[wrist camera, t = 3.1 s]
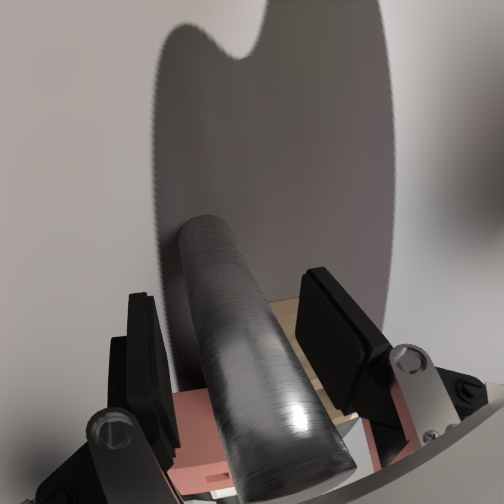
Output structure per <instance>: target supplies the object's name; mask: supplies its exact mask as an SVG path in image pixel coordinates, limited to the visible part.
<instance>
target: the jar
mask: <svg viewBox="0 0 504 504" xmlns="http://www.w3.org/2000/svg"><path fill="white" fill-rule="evenodd" d="M183 502H184V503H185V504H216V502H215V501H205V500H195V499H192V500H187V501H183Z"/></svg>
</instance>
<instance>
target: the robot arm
mask: <svg viewBox="0 0 504 504" xmlns="http://www.w3.org/2000/svg"><path fill="white" fill-rule="evenodd" d="M295 337H296V340H297V342H298V344H299V346H300V348H301V349H302V351H303V353H304V355H305V356H306V358H307V360H308V362H309V363H310V365H311V367H312V369H313V371H314V372H315V374H316V376H317V378H318V379H319V381H320V383H321V385H322V386H323V388H324V390H325V392H326V393H327V395H328V397H329V399H330V400H331V402H332V404H333V406H334V407H335V409H336V410H341V412H342V413H343V415H344V417H345V416H348V415H350V414H353V413H357V414H358V416H359V417H361V418H362V423H363V427H364V431H365V434H366V439H367V443H368V447H369V451H370V455H371V459H372V464H373V468H374V472H375V473H373V474H371V475H369V476H367V477H364V478H362V479H360V480H358V481H355V482H353V483H351V484H348V485H346V486H343V487H341V488H339V489H336V490H333V491H331V492H328V493H326V494H323V495H320V496H318V497H315V498H312V499H309V500H306V501H303V502H300V503H297V504H504V384H493V383H485V384H483V383H482V382H481V381H480V380H479V379H477V378H476V377H473V376H470V375H466V374H462V373H458V372H454V371H450V370H446V369H443V368H439V367H435V366H434V364H433V362H432V360H431V358H430V357H429V356H428V354H427V353H426V352H425V351H424V350H423V349H422V348H420V347H418V346H416V345H412V344H401V345H397V346H396V347H394V348H393V347H392V345H390V343H389V341H388V340H387V339H386V338H385V336H384V335H383V334H382V333H381V332H380V330H379V329H378V328H377V327H376V326H375V324H374V323H373V322H372V321H371V320H370V319H369V317H368V316H367V315H366V314H365V313H364V312H363V310H362V309H361V308H360V307H359V306H358V305H357V303H356V302H355V301H354V300H353V299H352V298H351V296H350V295H349V294H348V293H347V292H346V291H345V290H344V288H343V287H342V286H341V285H340V284H339V283H338V282H337V280H336V279H335V278H334V277H333V276H332V275H331V274H330V273H329V271H328V270H327V269H326V268H325V267H318V268H312V269H308V270H307V272H306V274H303V275H302V280H301V288H300V296H299V304H298V312H297V319H296V326H295ZM108 375H109V376H108V403H107V404H108V405H107V408H105V409H103V410H100V411H98V412H97V413H95V414H94V415H93V416H92V417H91V418H90V420H89V421H88V423H87V427H86V438H87V442H86V443H85V444H84V445H83V446H82V447H80V448H79V449H78V450H77V451H76V452H75V453H74V454H73V455H72V456H71V457H70V458H69V459H67V460H66V461H65V462H64V463H63V464H62V465H61V466H60V467H59V468H57V469H56V470H55V471H54V472H53V473H52V474H51V475H50V476H49V477H47V479H45V480H44V481H43V482H42V483H41V484H40V486H39V487H38V489H37V492H36V497H35V498H34V499H32V500H31V501H30V500H29V499H26V500H24V501H23V502H21V503H20V504H185V503H184V502H183V500H182V498H181V496H180V495H179V493H178V491H177V489H176V487H175V486H174V484H173V482H172V480H171V478H170V476H169V474H168V472H167V471H168V470H169V469H170V468H171V467H172V466H173V465H174V461H173V458H176V453H175V449H176V448H181V444H180V439H179V433H178V427H177V421H176V415H175V409H174V403H173V396H172V389H171V382H170V374H169V366H168V360H167V355H166V350H165V346H164V342H163V338H162V333H161V329H160V325H159V320H158V316H157V311H156V306H155V301H154V297H153V296H147V293H146V292H142V293H133V294H129V302H128V319H127V336H121V337H112V339H111V344H110V358H109V374H108Z"/></svg>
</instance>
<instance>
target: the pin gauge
mask: <svg viewBox="0 0 504 504" xmlns="http://www.w3.org/2000/svg"><path fill="white" fill-rule="evenodd" d="M178 246H179V252H180V258H181V264H182V269H183V275H184V281H185V286H186V292H187V297H188V302H189V307H190V312H191V317H192V322H193V327H194V332H195V337H196V341H197V346H198V351H199V355H200V360H201V364H202V368H203V373H204V377H205V381H206V385H207V389H208V393H209V397H210V401H211V405H212V409H213V413H214V417H215V421H216V424H217V428H218V432H219V436H220V439H221V443H222V446H223V450H224V453H225V457H226V460H227V463H228V467H229V470H230V473H231V477H232V480H233V483H234V486H235V490H236V493H237V496H238V499H239V502H240V504H297V503H300V502H303V501H306V500H309V499H312V498H314V497H316V496H319V495H321V494H323V493H325V492H327V491H329V490H331V489H332V488H334V487H336V486H338V485H339V484H341V483H342V482H344V481H345V480H346V479H348V478H349V477H350V476H351V475H352V474H353V473H354V472H355V471H356V469H357V465H356V463H355V462H354V460H353V458H352V456H351V454H350V453H349V451H348V449H347V447H346V446H345V444H344V442H343V440H342V438H341V436H340V434H339V433H338V431H337V429H336V427H335V425H334V423H333V422H332V420H331V418H330V416H329V414H328V413H327V411H326V409H325V407H324V405H323V403H322V402H321V400H320V398H319V396H318V394H317V392H316V390H315V389H314V387H313V385H312V383H311V381H310V379H309V378H308V376H307V374H306V372H305V370H304V368H303V366H302V365H301V363H300V361H299V359H298V357H297V355H296V354H295V352H294V350H293V348H292V346H291V344H290V342H289V341H288V339H287V337H286V335H285V333H284V331H283V329H282V327H281V326H280V324H279V322H278V320H277V318H276V316H275V314H274V313H273V311H272V309H271V307H270V305H269V303H268V301H267V299H266V298H265V296H264V294H263V292H262V290H261V288H260V286H259V284H258V282H257V281H256V279H255V277H254V275H253V273H252V271H251V269H250V267H249V266H248V264H247V262H246V260H245V258H244V256H243V254H242V252H241V250H240V249H239V247H238V245H237V243H236V241H235V239H234V237H233V235H232V233H231V231H230V230H229V228H228V226H227V225H226V223H225V222H224V221H223V220H221V219H220V218H218V217H215V216H211V215H202V216H198V217H195V218H193V219H191V220H189V221H188V222H187V223H186V224H185V225H184V226H183V227H182V229H181V231H180V233H179V237H178Z"/></svg>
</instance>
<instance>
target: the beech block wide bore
mask: <svg viewBox="0 0 504 504" xmlns="http://www.w3.org/2000/svg"><path fill="white" fill-rule="evenodd" d="M298 304H299V297H298V298H293V299H288V300H282V301H276V302H271V303H269V305H270V307H271V309H272V311H273V313H274V314H275V316H276V318H277V320H278V322H279V324H280V326H281V327H282V329H283V331H284V333H285V335H286V337H287V339H288V341H289V342H290V344H291V346H292V348H293V350H294V352H295V354H296V355H297V357H298V359H299V361H300V363H301V365H302V366H303V368H304V370H305V372H306V374H307V376H308V378H309V379H310V381H311V383H312V385H313V387H314V389H315V390H316V392H317V394H318V396H319V398H320V400H321V402H322V403H323V405H324V407H325V409H326V411H327V413H328V414H329V416H330V418H331V420H332V422H333V423H334V425H337V424H340V423H342V422H345V421H348V420H350V419H353V418H355V417H358V414H357V413H353V414H350V415H348V416H345V417H344V415H343V413H342V412H341V410H336V409H335V407H334V406H333V404H332V402H331V400H330V399H329V397H328V395H327V393H326V392H325V390H324V388H323V386H322V385H321V383H320V381H319V379H318V378H317V376H316V374H315V372H314V371H313V369H312V367H311V365H310V363H309V362H308V360H307V358H306V356H305V355H304V353H303V351H302V349H301V348H300V346H299V344H298V342H297V340H296V337H295V326H296V319H297V312H298Z"/></svg>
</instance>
